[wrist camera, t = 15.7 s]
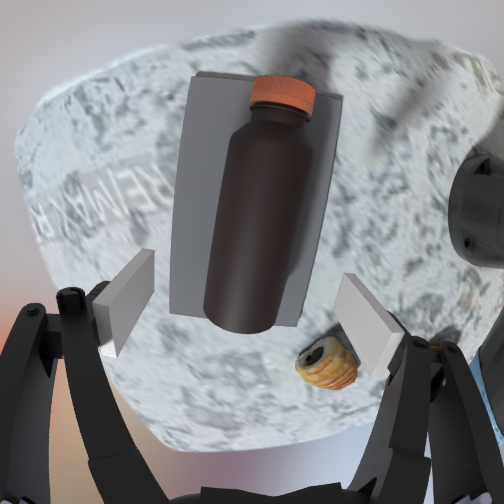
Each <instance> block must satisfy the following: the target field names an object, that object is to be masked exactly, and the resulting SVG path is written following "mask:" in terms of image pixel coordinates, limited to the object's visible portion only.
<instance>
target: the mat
mask: <svg viewBox="0 0 504 504" xmlns="http://www.w3.org/2000/svg"><path fill="white" fill-rule="evenodd" d="M253 85H254V82H251V81H243V80H235V79H225V78H213V77H195V76H192V77H191V82H190V87H189V93H188V98H187V104H186V110H185V116H184V122H183V129H182V136H181V143H180V150H179V158H178V167H177V176H176V185H175V196H174V208H173V221H172V237H171V258H170V313H171V314H178V315H185V316H192V317H199V318H207V317H206V315H205V313H204V311H203V303H204V295H205V287H206V280H207V273H208V266H209V259H210V252H211V245H212V239H213V232H214V226H215V220H216V213H217V207H218V201H219V196H220V190H221V184H222V178H223V173H224V168H225V162H226V157H227V152H228V146H229V141H230V138H231V135H232V134H233V133H234V132H235V131H237V130H238V129H240V128H241V127H242V126H244V125H245V124H247V123H248V122H249V121H250V119H251V114H252V112H251V111H250V110H249V107H250V106H251V105H250V99H251V94H252V89H253ZM341 103H342V101H341V100H338V99H334V98H331V97H327V96H323V95H319V94H316V96H315V101H314V106H313V111H312V116H311V117H309V118H310V122H308V123H306V126H305V131H304V132H305V134H306V135H307V137H308V139H309V140H310V142H311V143H312V145H313V147H314V148H315V151H316V158H315V163H314V168H313V173H312V177H311V182H310V187H309V191H308V196H307V200H306V204H305V209H304V213H303V217H302V222H301V226H300V230H299V234H298V238H297V242H296V247H295V251H294V255H293V259H292V263H291V266H290V270H289V274H288V278H287V282H286V286H285V289H284V293H283V297H282V301H281V304H280V308H279V312H278V315H277V319H276V322H275V324H274V325H275V326H289V327H297V324H298V320H299V317H300V313H301V309H302V305H303V301H304V298H305V294H306V290H307V286H308V282H309V277H310V273H311V269H312V265H313V261H314V256H315V252H316V247H317V243H318V238H319V234H320V229H321V224H322V219H323V214H324V209H325V204H326V199H327V194H328V188H329V183H330V177H331V171H332V165H333V159H334V153H335V147H336V140H337V133H338V126H339V119H340V111H341ZM207 319H208V318H207Z"/></svg>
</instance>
